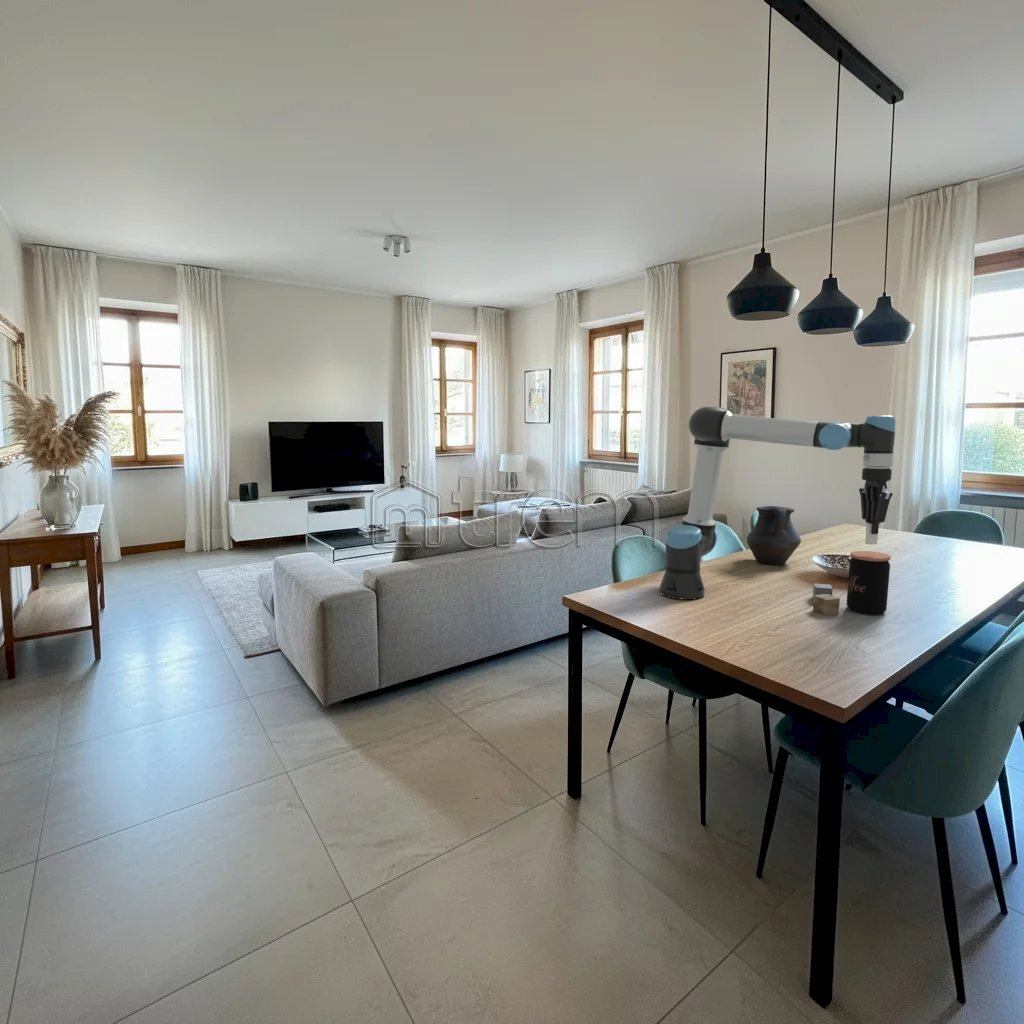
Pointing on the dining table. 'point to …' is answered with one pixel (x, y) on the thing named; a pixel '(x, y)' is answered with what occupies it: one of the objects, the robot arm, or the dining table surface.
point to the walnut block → (826, 604)
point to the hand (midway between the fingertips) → (871, 543)
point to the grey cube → (822, 589)
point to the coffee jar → (868, 582)
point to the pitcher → (773, 535)
